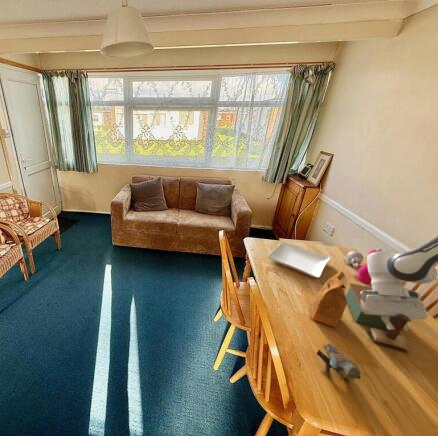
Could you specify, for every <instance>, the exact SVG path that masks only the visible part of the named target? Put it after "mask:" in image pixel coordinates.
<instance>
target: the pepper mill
mask: <svg viewBox="0 0 438 436" xmlns="http://www.w3.org/2000/svg"><path fill="white" fill-rule="evenodd" d="M377 251H383V250H382V248H381V247H378V248H376V249H372V250H370V251H369V252H368V253H367V256H368V255H369V254H371V253H373V252H377ZM357 272H358V273H357V275H356V279H357V280H358V281H360V282H361V283H363V284H364V283H365V284H371V276H370V275H369V272H368V267H367V262H366V263H365V264H364V265H362V266H361V267H359V268H358V271H357Z"/></svg>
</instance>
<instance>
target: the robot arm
mask: <svg viewBox="0 0 438 436" xmlns="http://www.w3.org/2000/svg"><path fill="white" fill-rule="evenodd" d="M368 254H369V253H368ZM368 254H367V257H366V263H367V267H368V272H369V275H370V276H371V283H370V286H371V288H372V290H373V291H368V290H363V291H362V292H364V293H362V292H361V293H360V297H361V309H362V312H363V313H364V314H370V315H380V316H381V319H382V320H383V321H384V323H385V324H386V326H387V329H392V330H395V326H394V325H392V324H391V322H390V321H389V320H388V319H390V317H397V316H398V315H399V314H403V315H405V316H407V317H408V318H410V320H411V319H412V320H423V321H424V320H427V319H428V313H427V309H426V307H425V304H424V302H423V301H422V300H421V298H422V295H421V293H420V292H417V291H415V290H411V289H409V288H406V287H404V286H403V283H411V284H415V285H423V284H428V283H431V282H433V281H435V279H436V278H437V276H438V272H437V269H436V267H435V265H436V264H438V235H437V236H435V237H434V238H432V239H430V240H428V241H427V242H425V243H423V244H421V245H419V246H418V247H415V248H413V249H411V250H407V251H402V252H398V253H394V252H392V251H390V250H382V251H377V252H373V253H371V254H369V255H368ZM389 316H390V317H389ZM409 323H410V322H409V321H408V322H407V324H406V325H405V326H404V328H403V329H402V331H403V332H408V330H409V329H408V325H409ZM402 331H401V332H402Z"/></svg>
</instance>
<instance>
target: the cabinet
mask: <svg viewBox="0 0 438 436" xmlns="http://www.w3.org/2000/svg"><path fill="white" fill-rule="evenodd" d="M348 285H349V288H348V290H347V292H346V294H345V297H346V300H347V304H348V307H349V309H350V312H351V314H352V316H353V319H354V321H355V322H356V323H357V324H358V323H359V324H362V325H367V326H370V327H372V328H376V329H380V330H383V331H387V332H388V330H389V329H387V326H386V324H385V323H384V321H383V320H382V319H381V316H380V315H370V314H364V313H363V312H362V309H361V297H360V293H361V292H362V291H363V290H368V291H373V290H372V286H371V287H370V286H365V285H361V284H357V283H352V282H349V283H348ZM362 293H364V292H362ZM389 317H390V316H389ZM396 318H397V317H390V319H388V320H389V321H390V322H391V324H393V322H394V321H395V319H396ZM411 322H412V320H411V318H409V323H411Z"/></svg>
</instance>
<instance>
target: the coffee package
mask: <svg viewBox="0 0 438 436" xmlns="http://www.w3.org/2000/svg"><path fill="white" fill-rule="evenodd" d="M345 276H346V275H345V273H344V271H341V270H340V271H338V273H336V274H335V275H333V276H332V277H330V278H329V279H328V280H327V281H326V282H324V284H323V286H322V287H321V288H320V289H319V291H318V293H317V295H316V296H315V298H314V300H313V302H312V305H311V307H310V310H311V311H310V313H311V318H312V320H313V321H316V322H319V323H322V324H325V325H327V326H330V327H334V328H336V326H337V325H338V322H339V321H340V320H341V319H342V318H343V315H344V312H345V310H346V307H347V304H348V303H347V300H346V297H345V296H346V294H345V290H344V289H346V285H344V283H343V282H342V281H341V280H342V279H343V278H345Z"/></svg>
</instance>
